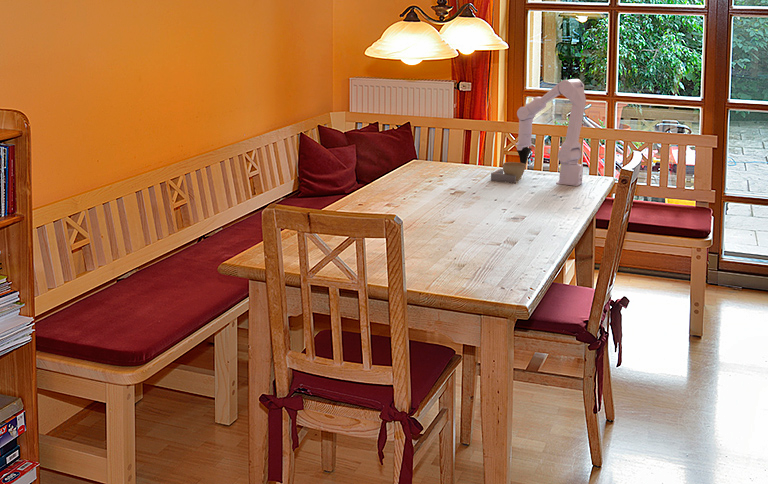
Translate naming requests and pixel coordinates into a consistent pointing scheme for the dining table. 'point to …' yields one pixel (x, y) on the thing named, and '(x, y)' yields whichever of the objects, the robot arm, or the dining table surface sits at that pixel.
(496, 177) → the keeper bracket
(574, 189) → the dining table surface
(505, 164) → the flower pot
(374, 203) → the dining table surface
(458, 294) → the dining table surface
